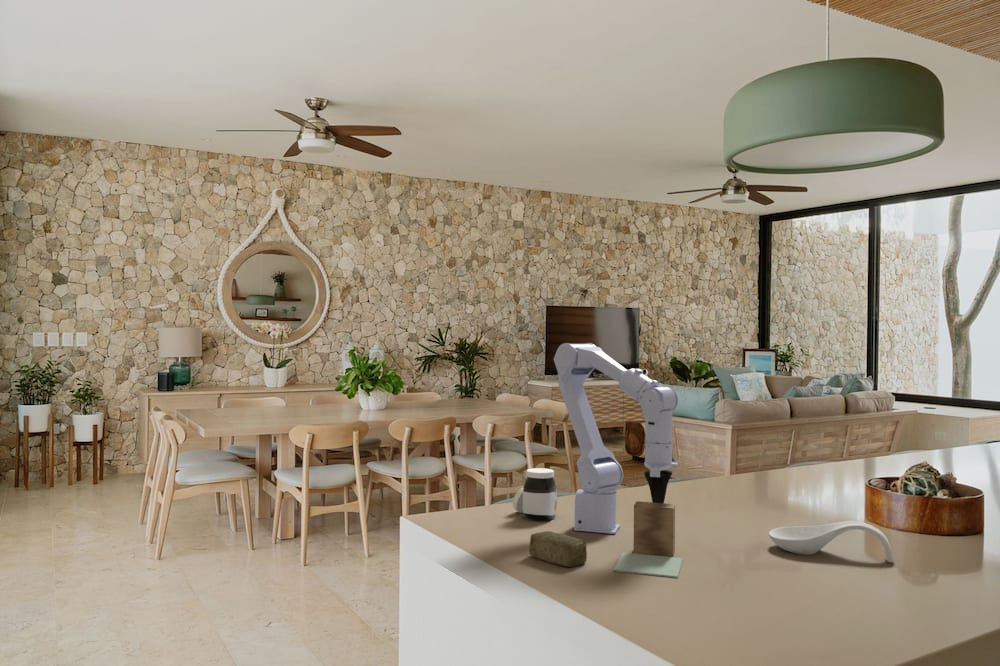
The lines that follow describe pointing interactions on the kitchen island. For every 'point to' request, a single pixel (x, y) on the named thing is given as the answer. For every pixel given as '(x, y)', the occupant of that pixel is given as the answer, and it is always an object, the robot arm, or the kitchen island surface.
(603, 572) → the kitchen island surface
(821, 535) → the spoon rest
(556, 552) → the stone block
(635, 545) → the walnut block
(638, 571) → the mat
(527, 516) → the spread jar
